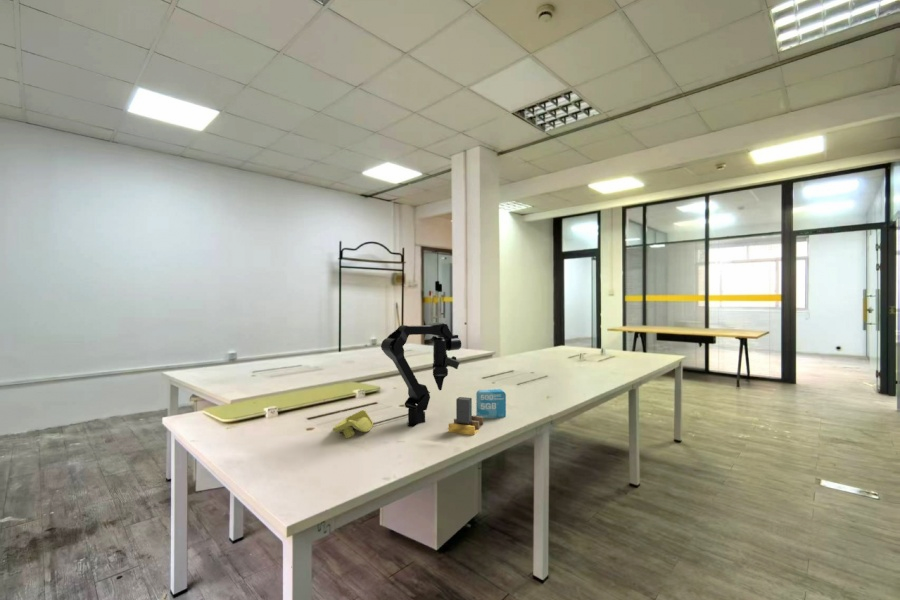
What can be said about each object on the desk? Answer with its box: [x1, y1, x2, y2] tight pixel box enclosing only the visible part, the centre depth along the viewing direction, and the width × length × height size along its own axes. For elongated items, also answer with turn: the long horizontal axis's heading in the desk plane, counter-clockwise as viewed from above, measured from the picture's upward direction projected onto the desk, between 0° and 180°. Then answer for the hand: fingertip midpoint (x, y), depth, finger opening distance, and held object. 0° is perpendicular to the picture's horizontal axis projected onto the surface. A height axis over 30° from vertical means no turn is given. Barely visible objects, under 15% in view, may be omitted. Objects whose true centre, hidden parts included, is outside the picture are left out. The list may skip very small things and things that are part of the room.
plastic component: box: [332, 409, 374, 439], centre depth 145 cm, size 20×7×10 cm
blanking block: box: [455, 396, 473, 426], centre depth 144 cm, size 5×4×12 cm
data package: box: [475, 388, 507, 419], centre depth 163 cm, size 12×4×12 cm, turn 98°
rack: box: [448, 415, 484, 436], centre depth 147 cm, size 10×13×4 cm
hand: (439, 387), depth 164 cm, fingers open, 9 cm apart
